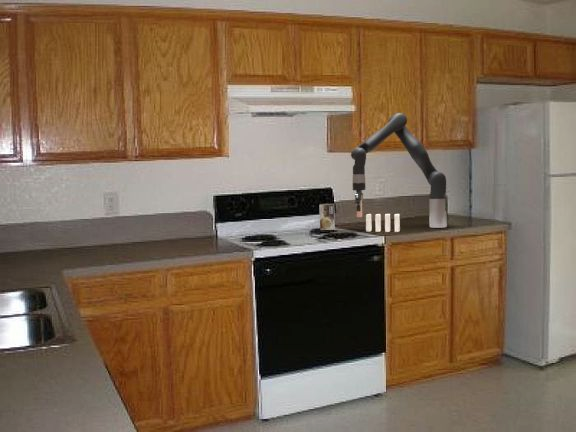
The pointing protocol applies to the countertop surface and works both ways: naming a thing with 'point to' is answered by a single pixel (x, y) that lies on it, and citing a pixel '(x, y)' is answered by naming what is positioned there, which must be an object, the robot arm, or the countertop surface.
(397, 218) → the domino
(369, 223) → the domino
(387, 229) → the domino
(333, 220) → the coffee box
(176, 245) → the countertop surface
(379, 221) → the domino
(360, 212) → the domino
